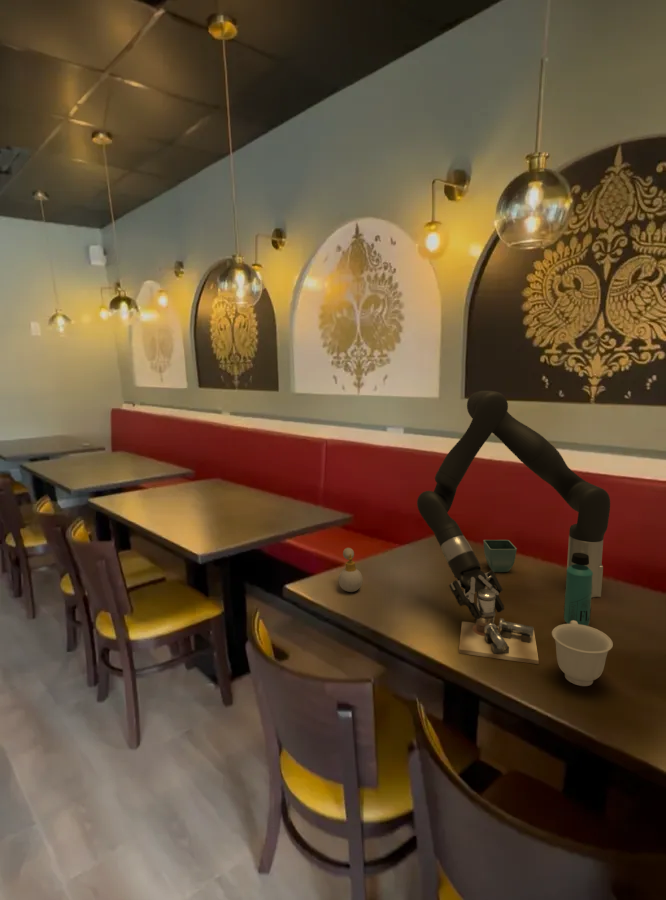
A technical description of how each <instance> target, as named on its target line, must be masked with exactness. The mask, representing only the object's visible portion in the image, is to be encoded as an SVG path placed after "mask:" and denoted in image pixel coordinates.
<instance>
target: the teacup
mask: <svg viewBox="0 0 666 900" xmlns="http://www.w3.org/2000/svg"><path fill="white" fill-rule="evenodd" d="M551 636H552V638H553V639H554V642H555V652H556V661H557V664H558V667H559V669H560V670H561V671H562V672H563V673H564V677H565V679H566V680H567V681H568V682H569V683H572V684H573V685H576V686H580V687H588V686H592V684H593V683H594V681H595V680H597V679H598V678H600V677H601V675H602V673H603V672H604V669H605V664H606V660H607V655H608V653H609V651H610V650H611V649H613V645H614V644H613V643H614V642H613V640H612V639H611V638H610V636H609V635H607V634H606V633H605V632H603V631H602V630H599V629H597V628H596V627H595V628H594V627H592V626H590V625H588V626H586V625H580V624H578V623H577V621H574V620H573V621H571V622H570V624H568V623H563V624H562V623H561V624H559V625H556V626H555V627H554V628H553V629H552V631H551Z"/></svg>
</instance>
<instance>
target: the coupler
mask: <svg viewBox="0 0 666 900" xmlns="http://www.w3.org/2000/svg"><path fill="white" fill-rule="evenodd" d="M495 599H496V594H495V593H494V592H493V591H491V590H485V589H483V590H479V591H478V592H476V605H477V607H478V609H479V611H480V613H481V615H482V617H481V618H479V619H477V620H476V619H475V623H476V630H477V631H478V632H480V633H484V634H485V632H484V627H485V625H486V624H488V623H494V624H495V617H496V608H495Z"/></svg>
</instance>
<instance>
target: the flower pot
mask: <svg viewBox="0 0 666 900" xmlns="http://www.w3.org/2000/svg"><path fill="white" fill-rule="evenodd" d="M517 550H518V548H517V547H516V546H515V545H514V544H513V543H512V542H511V541H510V540H509V539H483V552H484V557H485V560H486V563H487V565H488V567H489V568H490V571H493V572H494V573H508V572H510V570H511V569H512V568H513V566H514V565H515V560H516V555H517Z"/></svg>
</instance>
